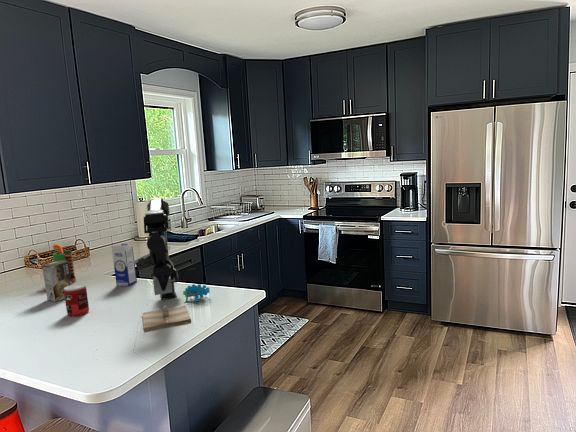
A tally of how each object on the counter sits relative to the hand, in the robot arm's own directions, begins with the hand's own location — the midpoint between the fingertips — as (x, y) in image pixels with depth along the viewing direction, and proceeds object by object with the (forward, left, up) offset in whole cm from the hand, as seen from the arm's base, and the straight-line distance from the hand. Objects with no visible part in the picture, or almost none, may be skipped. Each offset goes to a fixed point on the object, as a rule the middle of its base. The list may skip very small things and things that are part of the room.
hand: (162, 288), depth 156 cm
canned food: (-25, -32, -12) cm, 42 cm away
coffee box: (-52, -42, -12) cm, 68 cm away
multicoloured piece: (-79, -43, -12) cm, 91 cm away
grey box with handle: (0, 0, -1) cm, 1 cm away
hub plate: (0, 0, -12) cm, 12 cm away
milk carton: (-58, -14, -12) cm, 61 cm away
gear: (-16, +14, -12) cm, 25 cm away
